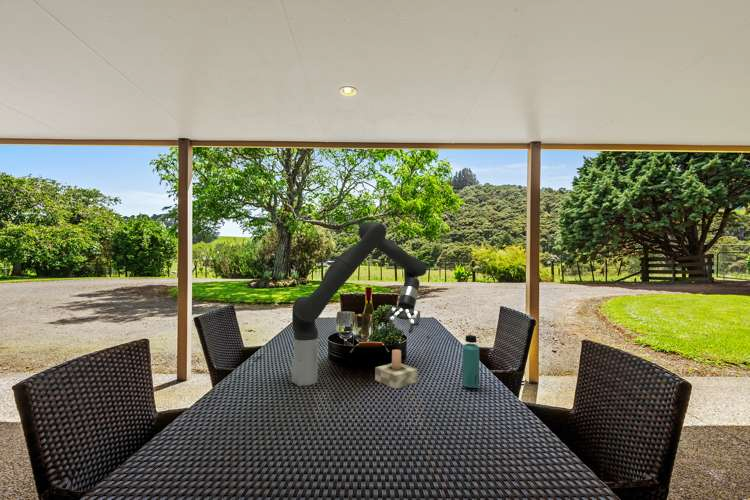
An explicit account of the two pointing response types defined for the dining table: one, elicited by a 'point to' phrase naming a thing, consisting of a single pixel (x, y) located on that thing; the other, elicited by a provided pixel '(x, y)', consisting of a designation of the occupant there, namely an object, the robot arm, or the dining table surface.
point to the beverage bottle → (470, 363)
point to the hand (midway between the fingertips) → (399, 330)
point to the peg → (396, 360)
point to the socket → (396, 375)
